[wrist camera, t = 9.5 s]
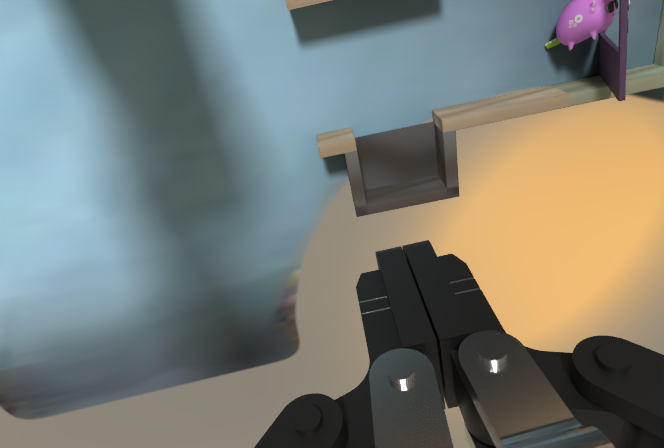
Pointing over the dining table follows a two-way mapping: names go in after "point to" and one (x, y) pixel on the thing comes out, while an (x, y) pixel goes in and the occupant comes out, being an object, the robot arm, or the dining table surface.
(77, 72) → the dining table surface
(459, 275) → the robot arm
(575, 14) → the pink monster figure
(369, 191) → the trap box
